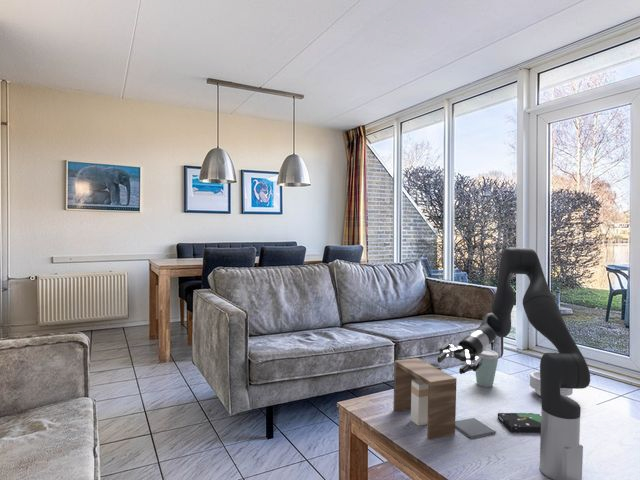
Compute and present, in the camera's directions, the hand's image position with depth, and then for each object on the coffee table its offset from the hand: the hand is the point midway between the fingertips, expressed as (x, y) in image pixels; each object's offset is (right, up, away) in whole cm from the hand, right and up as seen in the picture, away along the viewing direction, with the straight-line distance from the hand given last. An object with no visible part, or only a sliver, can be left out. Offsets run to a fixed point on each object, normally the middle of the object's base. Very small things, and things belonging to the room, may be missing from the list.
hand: (449, 366), depth 140 cm
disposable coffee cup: (+27, -19, +36) cm, 49 cm away
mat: (+7, -20, -4) cm, 21 cm away
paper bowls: (+49, -20, +25) cm, 59 cm away
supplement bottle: (+1, -19, +24) cm, 31 cm away
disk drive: (+26, -21, -1) cm, 33 cm away
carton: (-10, -20, 0) cm, 22 cm away
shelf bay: (-9, -20, +1) cm, 21 cm away
